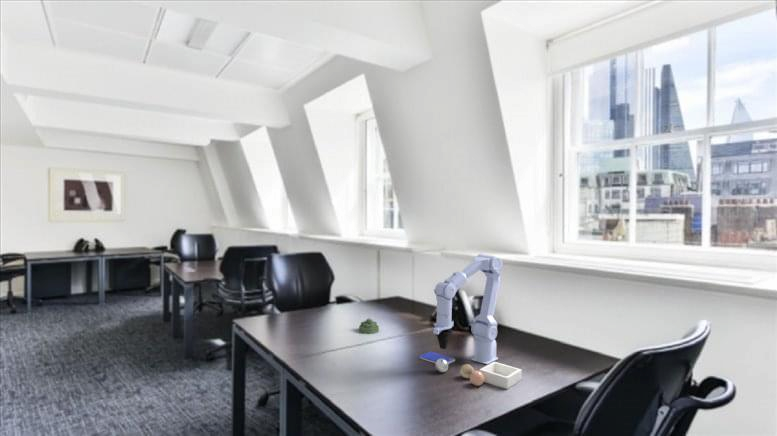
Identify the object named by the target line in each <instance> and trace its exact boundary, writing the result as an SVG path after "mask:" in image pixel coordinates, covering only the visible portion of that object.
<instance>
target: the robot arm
mask: <svg viewBox="0 0 777 436" xmlns="http://www.w3.org/2000/svg"><path fill="white" fill-rule="evenodd" d="M503 264H504V263H503V261H502V259H501V257H500V256H498V255H489V254H484V253H479V254H477V256H475V257H474V258H473V260H472V261H471V262H470V263H469V264H468V265H467V266H466V267H465V268H464V269H463V270H462V271H454V272H453V273H452V275H450V276H449V277H448V278H446V279H444V281H440V282H438V283H437V284H436V285H435V288H434V289H433V292H434V294H435V299H436V322H435V323H433V326H434V327H433V335H436V336H437V340H438V344H439V348H440V349H442V350H446V349H447V348H448V344H449V340H450V337H451V335H452V333H453V329H452V328H453V327H454V320H452V316H453V315H452V308H453V298H454V297H455V296H456V293H457V292H458V290H460V288H461V287H463V286H464V285H465V284H467V281H468V280H467V279H469V278H470V277H472V276H473V275H475V274H476V273H477V272H479V271H481V272H482V273H483V274H484V275H485V277H486V280H485V287H484V291H483V298H482V303H481V307H480V312H479V314H478V315H477V316H475V317H474V320H473V323H472V324H471V326H470V327H471V333H472V334H473V338H475V339H474V340H475V341H474V356H472V357H471V358H470V361H474V362H476V363H479V364H484V365H489V364H491V363H493V362H496V361H497V360H499V357H498V356H497V341H496V338H497V336H498V322H497V321H496V320H495V318H494V315H495V314H494V313H495V310H496V305H497V304H496V303H497V297H498V293H499V288H500V282H501V274H502V268H503Z"/></svg>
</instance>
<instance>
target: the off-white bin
mask: <svg viewBox="0 0 777 436" xmlns="http://www.w3.org/2000/svg"><path fill="white" fill-rule="evenodd" d="M478 371H480V372H481V373H482V374H483V376H484V382H483V383H485V384H486V383H487V384H488V385H489V384H490V385H493V386H496V387H499V388H502V389H505V390H509V389H511V388H513V387H514V386H516V384H518V383H519V382H522V379H523V378H522V377H523V375H522V374H523V370H522V368H521V369H520V368H517V367H514V366H511V365H509V364H504V363H501V362H497V361H493V362H491V363H489V364H486V366H483V367H482V368H480V369H479V370H478Z"/></svg>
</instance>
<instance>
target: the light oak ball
mask: <svg viewBox="0 0 777 436" xmlns="http://www.w3.org/2000/svg"><path fill="white" fill-rule="evenodd" d="M474 371H475V370H474V368H473V366H472V365H470V364H468V363H465V364H463V365H461V367H460V371H459V372H460V375H461V377H463V379H470V375H471V373H472V372H474Z"/></svg>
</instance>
